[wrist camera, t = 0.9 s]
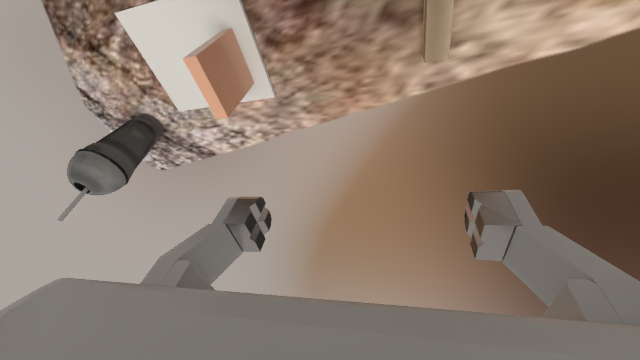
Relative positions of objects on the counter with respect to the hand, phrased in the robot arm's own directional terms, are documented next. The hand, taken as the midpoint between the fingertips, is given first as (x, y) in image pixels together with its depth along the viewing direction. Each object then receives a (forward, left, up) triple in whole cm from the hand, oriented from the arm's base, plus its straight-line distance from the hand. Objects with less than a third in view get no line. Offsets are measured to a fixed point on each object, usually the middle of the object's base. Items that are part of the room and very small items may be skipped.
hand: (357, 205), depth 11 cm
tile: (+1, -18, -22) cm, 28 cm away
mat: (0, -23, -27) cm, 36 cm away
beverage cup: (+9, -40, -27) cm, 49 cm away
